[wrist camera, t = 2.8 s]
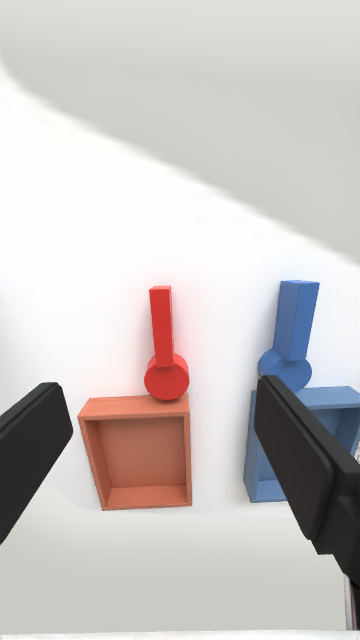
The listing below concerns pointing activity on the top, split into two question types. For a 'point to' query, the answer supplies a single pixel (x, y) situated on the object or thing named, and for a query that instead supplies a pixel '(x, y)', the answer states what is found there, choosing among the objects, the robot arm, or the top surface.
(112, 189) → the top surface
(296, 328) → the blue spoon
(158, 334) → the red spoon
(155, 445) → the red tray
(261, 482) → the blue tray
